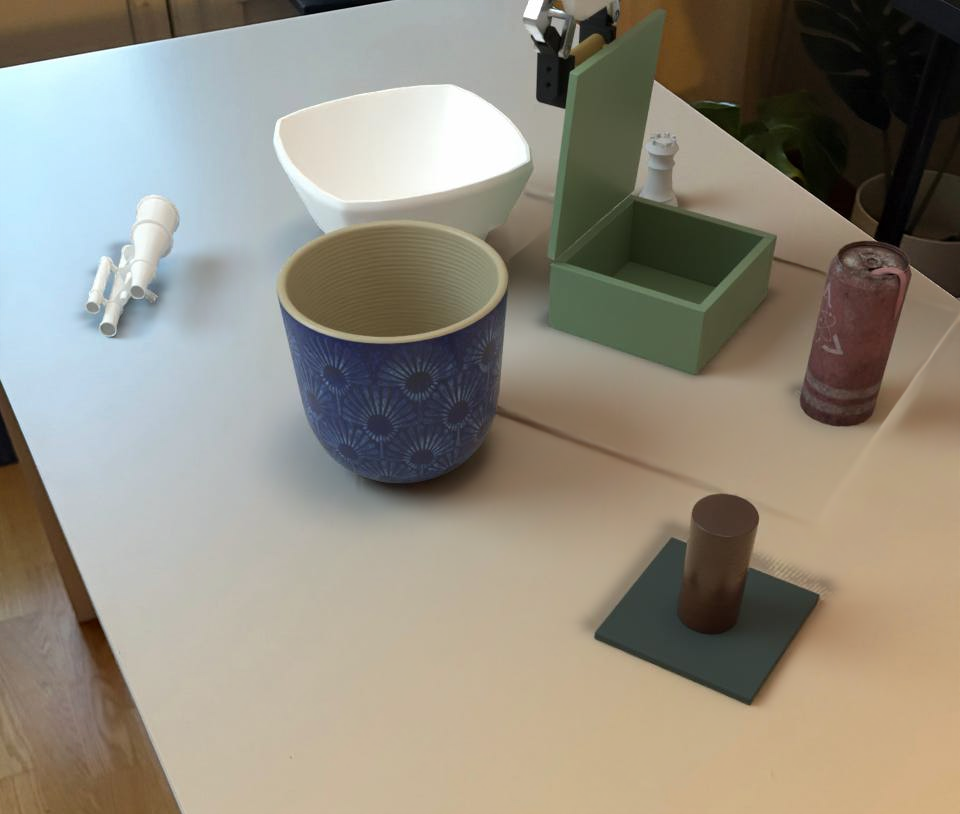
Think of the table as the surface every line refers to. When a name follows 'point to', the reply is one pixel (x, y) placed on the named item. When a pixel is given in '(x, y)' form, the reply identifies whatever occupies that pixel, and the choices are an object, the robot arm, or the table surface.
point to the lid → (603, 128)
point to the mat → (708, 657)
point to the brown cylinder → (717, 562)
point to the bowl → (405, 159)
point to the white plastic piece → (135, 261)
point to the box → (661, 282)
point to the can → (855, 332)
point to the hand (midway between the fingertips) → (575, 87)
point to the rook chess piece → (660, 169)
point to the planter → (396, 344)
